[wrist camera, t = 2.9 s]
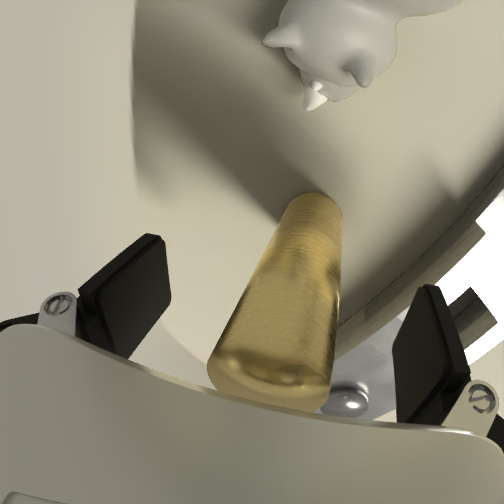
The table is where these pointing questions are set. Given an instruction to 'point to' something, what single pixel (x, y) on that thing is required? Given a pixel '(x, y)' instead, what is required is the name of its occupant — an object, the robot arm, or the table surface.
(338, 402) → the grey flat bar
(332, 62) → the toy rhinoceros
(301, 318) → the pin
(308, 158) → the table surface
